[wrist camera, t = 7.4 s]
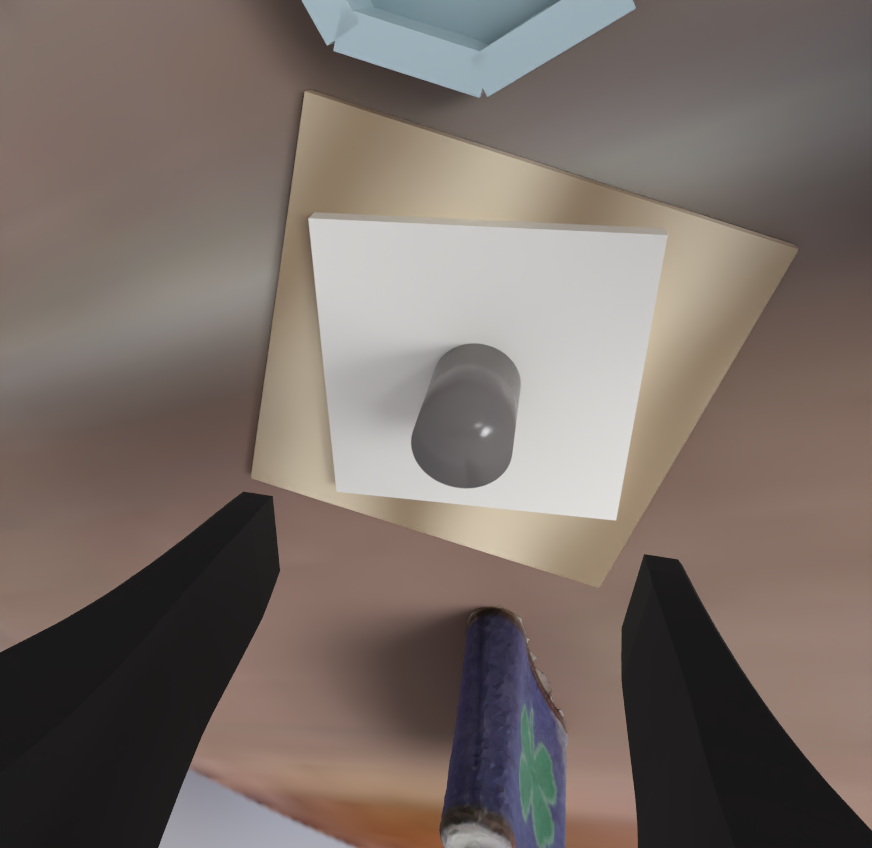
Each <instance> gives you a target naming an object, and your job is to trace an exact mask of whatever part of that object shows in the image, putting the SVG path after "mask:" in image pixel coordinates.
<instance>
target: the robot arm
mask: <svg viewBox="0 0 872 848" xmlns="http://www.w3.org/2000/svg"><path fill="white" fill-rule="evenodd" d="M279 572H280V567H279V556H278V546H277V536H276V526H275V515H274V505H273V496H268V495H261V494H255V493H248V492H242V493H241V494H240V495H238V496H237V497H236V498H234V499H233V500H232V501H230V502H229V503H228V504H227V505H225V506H224V507H223V508H222V509H220V510H219V511H218V512H217V513H215V514H214V515H213V516H212V517H210V518H209V519H208V520H207V521H206V522H204V523H203V524H202V525H200V526H199V527H198V528H197V529H195V530H194V531H193V532H192V533H190V534H189V535H188V536H187V537H185V538H184V539H183V540H181V541H180V542H179V543H177V544H176V545H175V546H174V547H172V548H171V549H170V550H168V551H167V552H166V553H164V554H163V555H162V556H160V557H159V558H158V559H156V560H155V561H154V562H152V563H151V564H150V565H148V566H147V567H145V568H144V569H142V570H141V571H140V572H138V573H137V574H135V575H134V576H132V577H131V578H129V579H128V580H127V581H125V582H124V583H122V584H121V585H119V586H118V587H117V588H115V589H114V590H112V591H110V592H109V593H107V594H106V595H104V596H103V597H101V598H100V599H98V600H96V601H95V602H93V603H91V604H90V605H88V606H86V607H85V608H83V609H81V610H80V611H78V612H76V613H74V614H73V615H71V616H69V617H68V618H66V619H64V620H62V621H60V622H59V623H57V624H55V625H53V626H51V627H49V628H47V629H45V630H43V631H41V632H39V633H37V634H36V635H34V636H32V637H30V638H28V639H26V640H24V641H22V642H20V643H18V644H16V645H14V646H12V647H10V648H8V649H6V650H4V651H2V652H0V848H158V847H159V844H160V841H161V838H162V836H163V833H164V830H165V828H166V825H167V823H168V820H169V817H170V815H171V812H172V809H173V807H174V804H175V802H176V799H177V796H178V794H179V791H180V788H181V786H182V783H183V781H184V778H185V776H186V774H187V771H188V769H189V766H190V764H191V761H192V759H193V756H194V754H195V751H196V749H197V746H198V744H199V742H200V739H201V737H202V735H203V733H204V730H205V728H206V726H207V724H208V722H209V720H210V718H211V716H212V714H213V712H214V710H215V708H216V706H217V704H218V702H219V700H220V698H221V697H222V695H223V693H224V691H225V689H226V687H227V685H228V683H229V681H230V679H231V678H232V676H233V674H234V672H235V670H236V668H237V666H238V664H239V662H240V660H241V658H242V657H243V655H244V653H245V651H246V649H247V647H248V645H249V643H250V641H251V639H252V637H253V635H254V633H255V631H256V630H257V628H258V626H259V624H260V622H261V620H262V618H263V615H264V613H265V610H266V607H267V605H268V602H269V600H270V597H271V594H272V592H273V589H274V586H275V583H276V580H277V577H278V575H279ZM621 662H622V688H623V697H624V706H625V715H626V723H627V732H628V740H629V748H630V757H631V765H632V773H633V782H634V790H635V799H636V812H637V825H638V848H872V830H871V829H870V828H869V827H868V826H867V825H866V824H865V823H864V822H863V821H862V820H861V819H860V818H859V816H858V815H857V814H856V813H855V812H854V811H853V810H852V809H851V808H850V807H849V806H848V805H847V803H846V802H845V801H844V800H843V799H842V798H841V797H840V796H839V795H838V794H837V793H836V792H835V790H834V789H833V788H832V787H831V786H830V785H829V784H828V783H827V782H826V781H825V779H824V778H823V777H822V776H821V775H820V773H819V772H818V771H817V770H816V769H815V768H814V766H813V765H812V764H811V763H810V762H809V760H808V759H807V758H806V757H805V756H804V754H803V753H802V752H801V751H800V749H799V748H798V747H797V746H796V744H795V743H794V742H793V740H792V739H791V738H790V737H789V735H788V734H787V733H786V732H785V730H784V729H783V728H782V726H781V725H780V724H779V722H778V721H777V720H776V718H775V717H774V715H773V714H772V713H771V711H770V710H769V709H768V707H767V706H766V704H765V703H764V702H763V700H762V699H761V697H760V696H759V694H758V693H757V691H756V690H755V688H754V687H753V686H752V684H751V683H750V681H749V680H748V678H747V677H746V675H745V674H744V672H743V671H742V669H741V667H740V666H739V664H738V663H737V661H736V660H735V658H734V656H733V655H732V653H731V651H730V650H729V648H728V647H727V645H726V643H725V642H724V640H723V638H722V637H721V635H720V634H719V632H718V630H717V628H716V627H715V625H714V623H713V622H712V620H711V618H710V616H709V614H708V613H707V611H706V609H705V607H704V606H703V604H702V602H701V600H700V598H699V596H698V595H697V593H696V591H695V589H694V587H693V585H692V583H691V581H690V579H689V577H688V576H687V574H686V572H685V570H684V568H683V566H682V564H681V563H680V562H679V560H677V559H671V558H665V557H658V556H652V555H645V554H644V557H643V560H642V563H641V567H640V570H639V573H638V576H637V580H636V583H635V586H634V590H633V593H632V596H631V599H630V603H629V606H628V609H627V613H626V616H625V619H624V622H623V626H622V653H621Z"/></svg>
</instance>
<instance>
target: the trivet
mask: <svg viewBox="0 0 872 848" xmlns="http://www.w3.org/2000/svg"><path fill="white" fill-rule="evenodd" d="M314 212H319V213H341V214H363V215H385V216H407V217H429V218H451V219H472V220H494V221H516V222H538V223H560V224H582V225H604V226H626V227H648V228H665V229H666V231H667V234H668V237H667V243H666V248H665V254H664V259H663V265H662V270H661V276H660V281H659V287H658V292H657V298H656V303H655V309H654V314H653V320H652V325H651V331H650V337H649V342H648V348H647V353H646V359H645V364H644V370H643V375H642V381H641V386H640V392H639V397H638V403H637V408H636V414H635V419H634V425H633V430H632V436H631V442H630V447H629V453H628V458H627V464H626V469H625V475H624V480H623V486H622V491H621V497H620V502H619V508H618V513H617V519H616V521H615V520H605V519H596V518H586V517H576V516H567V515H557V514H547V513H538V512H528V511H518V510H509V509H499V508H489V507H480V506H470V505H460V504H451V503H441V502H431V501H422V500H412V499H402V498H393V497H383V496H373V495H364V494H354V493H344V492H337V491H336V481H335V472H334V462H333V452H332V443H331V433H330V424H329V414H328V404H327V395H326V385H325V375H324V366H323V356H322V346H321V337H320V327H319V318H318V308H317V298H316V289H315V279H314V269H313V260H312V250H311V240H310V231H309V221H308V218H309V217H310V216H311V215H312V214H313V213H314ZM798 251H799V249H798V248H797V246H796V245H794V244H791V243H788V242H785V241H782V240H779V239H776V238H772V237H769V236H766V235H763V234H760V233H757V232H754V231H751V230H747V229H744V228H741V227H738V226H735V225H732V224H729V223H726V222H722V221H719V220H716V219H713V218H710V217H707V216H704V215H701V214H697V213H694V212H691V211H688V210H685V209H682V208H679V207H676V206H672V205H669V204H666V203H663V202H660V201H657V200H654V199H651V198H648V197H644V196H641V195H638V194H635V193H632V192H629V191H626V190H623V189H619V188H616V187H613V186H610V185H607V184H604V183H601V182H598V181H594V180H591V179H588V178H585V177H582V176H579V175H576V174H573V173H569V172H566V171H563V170H560V169H557V168H554V167H551V166H548V165H544V164H541V163H538V162H535V161H532V160H529V159H526V158H523V157H519V156H516V155H513V154H510V153H507V152H504V151H501V150H498V149H495V148H491V147H488V146H485V145H482V144H479V143H476V142H473V141H470V140H466V139H463V138H460V137H457V136H454V135H451V134H448V133H445V132H441V131H438V130H435V129H432V128H429V127H426V126H423V125H420V124H416V123H413V122H410V121H407V120H404V119H401V118H398V117H395V116H391V115H388V114H385V113H382V112H379V111H376V110H373V109H370V108H366V107H363V106H360V105H357V104H354V103H351V102H348V101H345V100H341V99H338V98H335V97H332V96H329V95H326V94H323V93H320V92H317V91H313V90H310V89H309V90H306V91H305V93H304V100H303V107H302V114H301V121H300V128H299V136H298V143H297V150H296V157H295V164H294V171H293V179H292V186H291V193H290V200H289V207H288V214H287V222H286V229H285V236H284V243H283V250H282V257H281V265H280V272H279V279H278V286H277V293H276V300H275V308H274V315H273V322H272V329H271V336H270V343H269V351H268V358H267V365H266V372H265V379H264V386H263V394H262V401H261V408H260V415H259V422H258V429H257V436H256V444H255V451H254V458H253V465H252V472H251V479H255V480H258V481H261V482H264V483H267V484H270V485H274V486H277V487H280V488H283V489H286V490H289V491H293V492H296V493H299V494H302V495H305V496H308V497H312V498H315V499H318V500H321V501H324V502H327V503H331V504H334V505H337V506H340V507H343V508H346V509H350V510H353V511H356V512H359V513H362V514H366V515H369V516H372V517H375V518H378V519H381V520H385V521H388V522H391V523H394V524H397V525H400V526H404V527H407V528H410V529H413V530H416V531H419V532H423V533H426V534H429V535H432V536H435V537H438V538H442V539H445V540H448V541H451V542H454V543H457V544H461V545H464V546H467V547H470V548H473V549H476V550H480V551H483V552H486V553H489V554H492V555H495V556H499V557H502V558H505V559H508V560H511V561H514V562H518V563H521V564H524V565H527V566H530V567H534V568H537V569H540V570H543V571H546V572H549V573H553V574H556V575H559V576H562V577H565V578H568V579H572V580H575V581H578V582H581V583H584V584H587V585H591V586H594V587H597V588H600V586H601V584H602V583H603V581H604V579H605V577H606V576H607V574H608V572H609V571H610V569H611V567H612V566H613V564H614V562H615V561H616V559H617V557H618V555H619V554H620V552H621V550H622V549H623V547H624V545H625V544H626V542H627V540H628V538H629V537H630V535H631V533H632V532H633V530H634V528H635V527H636V525H637V523H638V522H639V520H640V518H641V516H642V515H643V513H644V511H645V510H646V508H647V506H648V505H649V503H650V501H651V500H652V498H653V496H654V494H655V493H656V491H657V489H658V488H659V486H660V484H661V483H662V481H663V479H664V477H665V476H666V474H667V472H668V471H669V469H670V467H671V466H672V464H673V462H674V461H675V459H676V457H677V455H678V454H679V452H680V450H681V449H682V447H683V445H684V444H685V442H686V440H687V439H688V437H689V435H690V433H691V432H692V430H693V428H694V427H695V425H696V423H697V422H698V420H699V418H700V417H701V415H702V413H703V411H704V410H705V408H706V406H707V405H708V403H709V401H710V400H711V398H712V396H713V394H714V393H715V391H716V389H717V388H718V386H719V384H720V383H721V381H722V379H723V378H724V376H725V374H726V372H727V371H728V369H729V367H730V366H731V364H732V362H733V361H734V359H735V357H736V356H737V354H738V352H739V350H740V349H741V347H742V345H743V344H744V342H745V340H746V339H747V337H748V335H749V334H750V332H751V330H752V328H753V327H754V325H755V323H756V322H757V320H758V318H759V317H760V315H761V313H762V311H763V310H764V308H765V306H766V305H767V303H768V301H769V300H770V298H771V296H772V295H773V293H774V291H775V289H776V288H777V286H778V284H779V283H780V281H781V279H782V278H783V276H784V274H785V273H786V271H787V269H788V267H789V266H790V264H791V262H792V261H793V259H794V257H795V256H796V254H797V252H798Z"/></svg>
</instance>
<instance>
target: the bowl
mask: <svg viewBox="0 0 872 848" xmlns="http://www.w3.org/2000/svg"><path fill="white" fill-rule="evenodd" d="M302 2H303V4H304V6H305V7H306V9H307V11H308V13H309V15H310V16H311V18H312V20H313V22H314V23H315V25H316V27H317V29H318V31H319V32H320V34H321V36H322V38H323V39H324V41H325V43H326V45H327V46H328V45H332V44H334V50H333V51H335V52H338V53H341V54H344V55H347V56H350V57H353V58H357V59H360V60H363V61H366V62H369V63H372V64H375V65H378V66H381V67H385V68H388V69H391V70H394V71H397V72H400V73H403V74H406V75H410V76H413V77H416V78H419V79H422V80H425V81H428V82H431V83H434V84H438V85H441V86H444V87H447V88H450V89H453V90H456V91H459V92H463V93H466V94H469V95H472V96H475V97H478V98H480V97H481V96H482V94H483V93H484V92H485V93H486V96H487V97H489V96H490V95H492V94H494V93H495V92H497V91H499V90H500V89H502V88H504V87H505V86H507V85H509V84H510V83H512V82H514V81H515V80H517V79H519V78H520V77H522V76H524V75H525V74H527V73H529V72H530V71H532V70H534V69H535V68H537V67H539V66H540V65H542V64H544V63H545V62H547V61H549V60H550V59H552V58H554V57H555V56H557V55H559V54H560V53H562V52H564V51H565V50H567V49H569V48H570V47H572V46H574V45H576V44H577V43H579V42H581V41H582V40H584V39H586V38H587V37H589V36H591V35H592V34H594V33H596V32H597V31H599V30H601V29H602V28H604V27H606V26H607V25H609V24H611V23H612V22H614V21H616V20H617V19H619V18H621V17H622V16H624V15H626V14H627V13H629V12H631V11H632V10H634V9H636V7H635V5H634V2H633V0H302Z"/></svg>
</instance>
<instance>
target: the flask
mask: <svg viewBox="0 0 872 848" xmlns="http://www.w3.org/2000/svg"><path fill="white" fill-rule="evenodd" d="M467 623H468V626H467V631H466V648H465V656H464V663H463V673H462V679H461V686H460V696H459V704H458V710H457V721H456V728H455V733H454V740H453V747H452V754H451V758H450V764H449V772H448V781H447V790H446V794H445V799H444V807H443V811H442V820H441V823H440V837H441V840H442V843H443V846H444V848H565V824H566V808H565V804H566V767H567V760H566V746H567V731H566V727H565V722H564V719H563V715H564V714H563V713H562V711H561V710H559V712H558V711H557V708H556V707H555V705H554V702H553V699H552V698H551V697H552V695H551V692H552V691H551V688H550V687H549V684H550V682H548V681H547V680H546V676H545V675H543V673H540V671H539V670H538V669H537V668H535V666H534V661H535V659H536V658H537V657H535V656H534V655H533V654H532V653H531V652H529V649H528V647H527V646H528V640H529V639H528V638H527V636H526V630H525V629H524V627H523V624H522V620H521V618H520V617H517V615H515V614H513V613H510V611H508V610H506V609H504V608H503V607H502V606H501V605H498V606H497V607H487V608H479V609H478V610H476V611H474V612H472V613H471V614H470V617H469V619H468V622H467Z"/></svg>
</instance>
